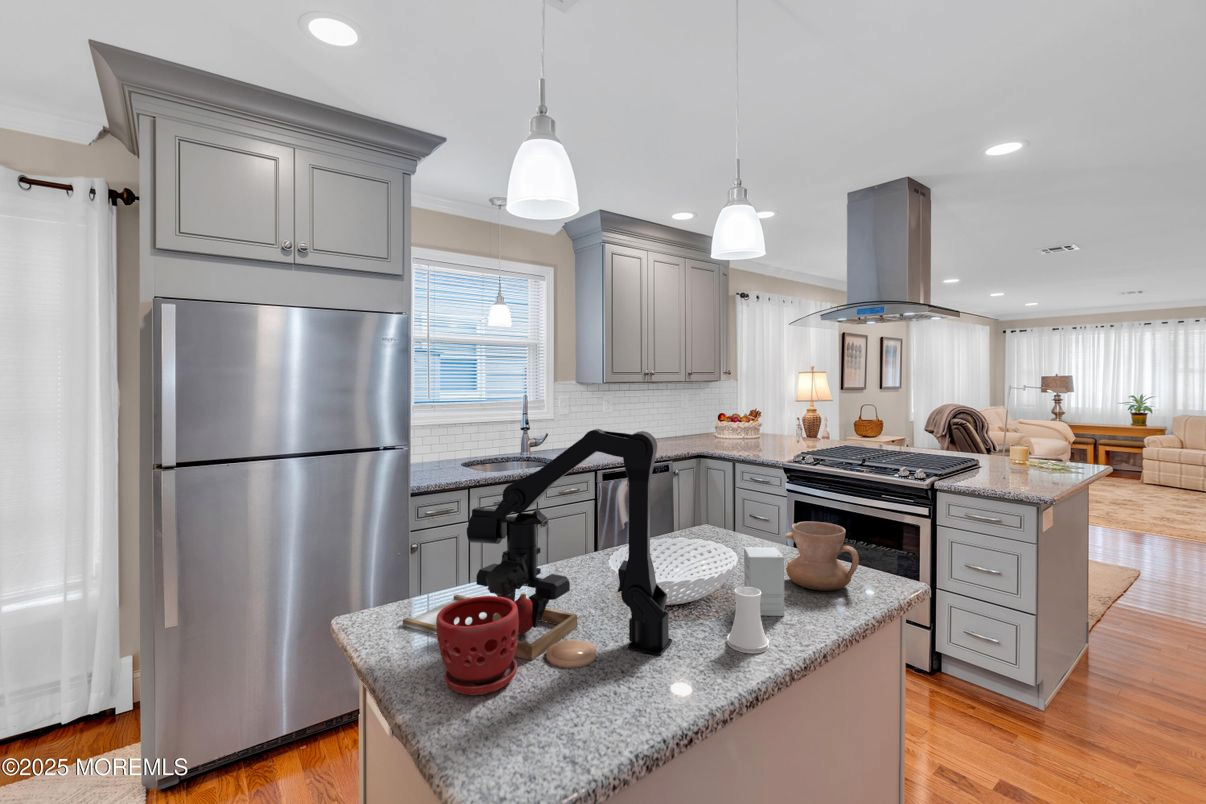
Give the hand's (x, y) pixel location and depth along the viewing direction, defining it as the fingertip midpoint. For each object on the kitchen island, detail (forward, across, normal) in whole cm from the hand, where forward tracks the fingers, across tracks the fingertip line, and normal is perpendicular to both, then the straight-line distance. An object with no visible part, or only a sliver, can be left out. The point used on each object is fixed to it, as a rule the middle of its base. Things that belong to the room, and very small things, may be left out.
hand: (522, 624), depth 109 cm
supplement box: (+2, +39, +34) cm, 52 cm away
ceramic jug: (+2, +48, +55) cm, 73 cm away
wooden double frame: (+2, -8, 0) cm, 8 cm away
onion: (+2, 0, 0) cm, 2 cm away
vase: (+2, +40, +16) cm, 43 cm away
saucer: (+2, +13, -3) cm, 13 cm away
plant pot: (+2, +4, -18) cm, 18 cm away
